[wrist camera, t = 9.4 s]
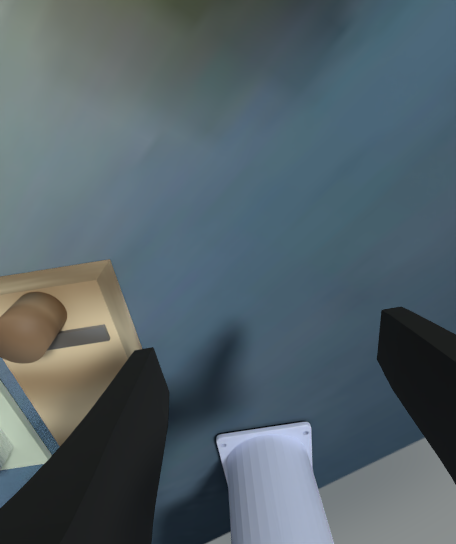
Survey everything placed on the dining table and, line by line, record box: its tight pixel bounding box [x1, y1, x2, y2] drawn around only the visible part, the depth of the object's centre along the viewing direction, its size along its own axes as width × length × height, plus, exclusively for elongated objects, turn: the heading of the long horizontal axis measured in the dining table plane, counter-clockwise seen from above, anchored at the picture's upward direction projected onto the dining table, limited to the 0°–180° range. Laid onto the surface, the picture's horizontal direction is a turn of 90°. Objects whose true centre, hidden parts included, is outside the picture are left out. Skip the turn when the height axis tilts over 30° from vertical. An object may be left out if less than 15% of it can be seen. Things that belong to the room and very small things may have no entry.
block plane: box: [0, 259, 142, 446], centre depth 19 cm, size 14×7×5 cm, turn 8°
